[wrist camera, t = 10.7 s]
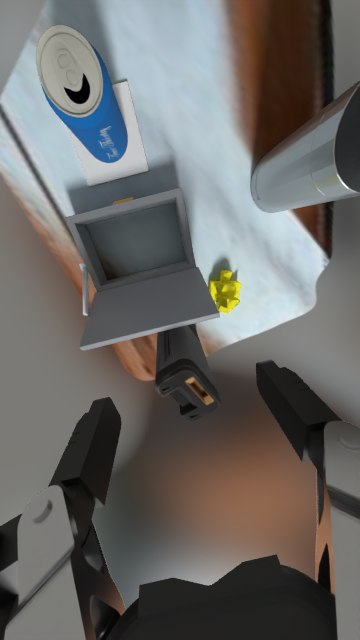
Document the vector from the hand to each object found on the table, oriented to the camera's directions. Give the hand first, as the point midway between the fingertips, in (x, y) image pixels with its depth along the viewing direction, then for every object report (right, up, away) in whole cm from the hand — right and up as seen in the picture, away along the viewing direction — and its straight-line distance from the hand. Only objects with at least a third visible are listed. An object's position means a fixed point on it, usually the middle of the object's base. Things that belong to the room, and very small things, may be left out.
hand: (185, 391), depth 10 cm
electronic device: (-1, +2, +32) cm, 32 cm away
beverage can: (-11, +31, +18) cm, 37 cm away
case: (-8, +16, +25) cm, 31 cm away
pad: (-11, +31, +18) cm, 38 cm away
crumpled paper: (+9, +11, +30) cm, 32 cm away
